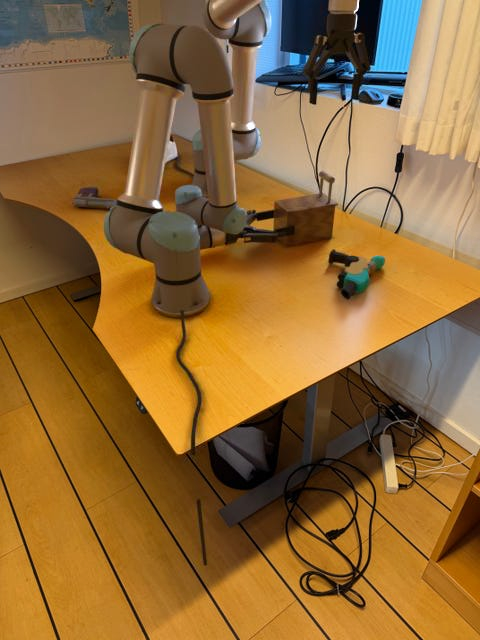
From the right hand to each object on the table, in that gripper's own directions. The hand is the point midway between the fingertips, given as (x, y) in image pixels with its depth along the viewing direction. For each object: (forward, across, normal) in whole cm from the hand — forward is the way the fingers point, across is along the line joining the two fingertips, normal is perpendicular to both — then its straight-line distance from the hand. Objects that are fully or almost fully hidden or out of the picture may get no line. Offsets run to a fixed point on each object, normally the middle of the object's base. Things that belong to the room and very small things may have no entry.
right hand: (333, 101), depth 135 cm
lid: (+30, +7, 0) cm, 30 cm away
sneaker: (+40, +33, -91) cm, 105 cm away
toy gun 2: (+40, +8, +29) cm, 51 cm away
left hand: (+34, +14, 0) cm, 37 cm away
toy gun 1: (+40, +65, -55) cm, 94 cm away
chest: (+40, +7, 0) cm, 41 cm away
